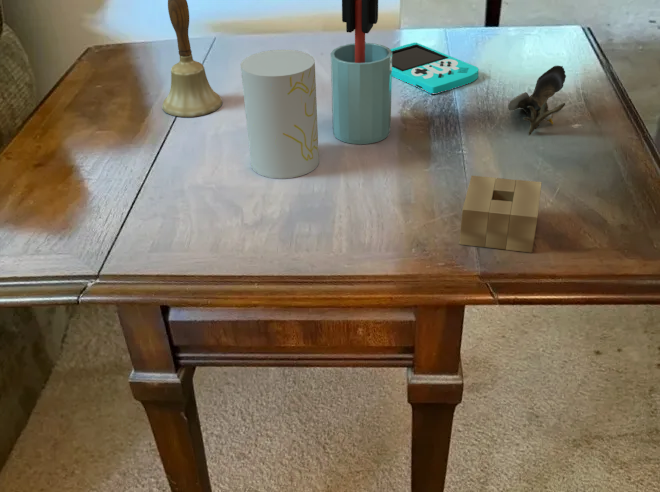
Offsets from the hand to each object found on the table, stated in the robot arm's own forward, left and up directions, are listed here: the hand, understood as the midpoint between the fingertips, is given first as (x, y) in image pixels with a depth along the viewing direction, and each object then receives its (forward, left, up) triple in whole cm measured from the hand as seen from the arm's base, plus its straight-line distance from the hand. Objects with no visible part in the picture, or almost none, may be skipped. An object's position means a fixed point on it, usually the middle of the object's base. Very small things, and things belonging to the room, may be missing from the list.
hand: (360, 28), depth 89 cm
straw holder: (-19, +20, -13) cm, 30 cm away
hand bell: (+25, -4, -13) cm, 28 cm away
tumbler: (0, 0, -13) cm, 13 cm away
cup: (+7, +10, -13) cm, 18 cm away
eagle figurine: (-21, -7, -13) cm, 26 cm away
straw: (0, 0, -9) cm, 9 cm away
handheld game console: (-4, -22, -13) cm, 26 cm away
